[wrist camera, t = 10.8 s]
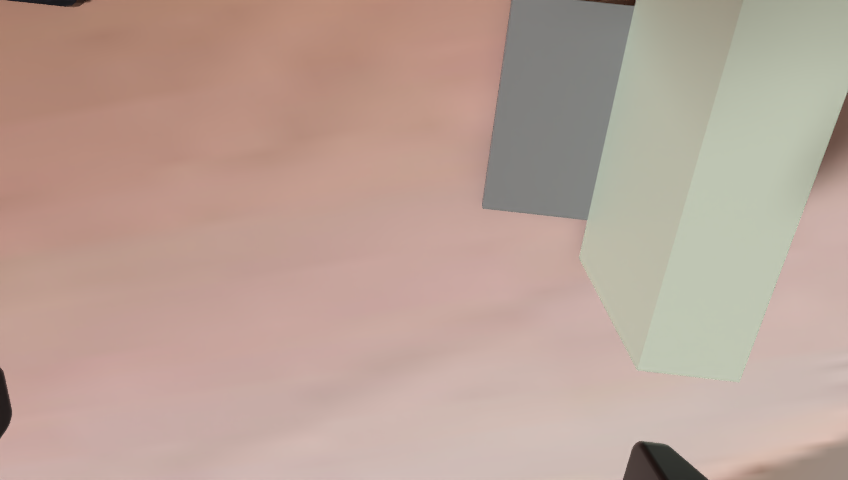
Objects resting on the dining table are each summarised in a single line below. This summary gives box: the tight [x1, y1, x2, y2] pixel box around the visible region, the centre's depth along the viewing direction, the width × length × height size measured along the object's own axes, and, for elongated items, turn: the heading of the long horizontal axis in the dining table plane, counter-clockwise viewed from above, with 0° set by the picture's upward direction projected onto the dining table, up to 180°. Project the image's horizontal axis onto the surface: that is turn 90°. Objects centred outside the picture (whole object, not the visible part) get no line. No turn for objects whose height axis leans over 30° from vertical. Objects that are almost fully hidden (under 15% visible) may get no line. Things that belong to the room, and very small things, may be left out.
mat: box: [482, 0, 635, 220], centre depth 18 cm, size 10×7×1 cm
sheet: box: [579, 0, 848, 382], centre depth 15 cm, size 2×10×7 cm, turn 175°
